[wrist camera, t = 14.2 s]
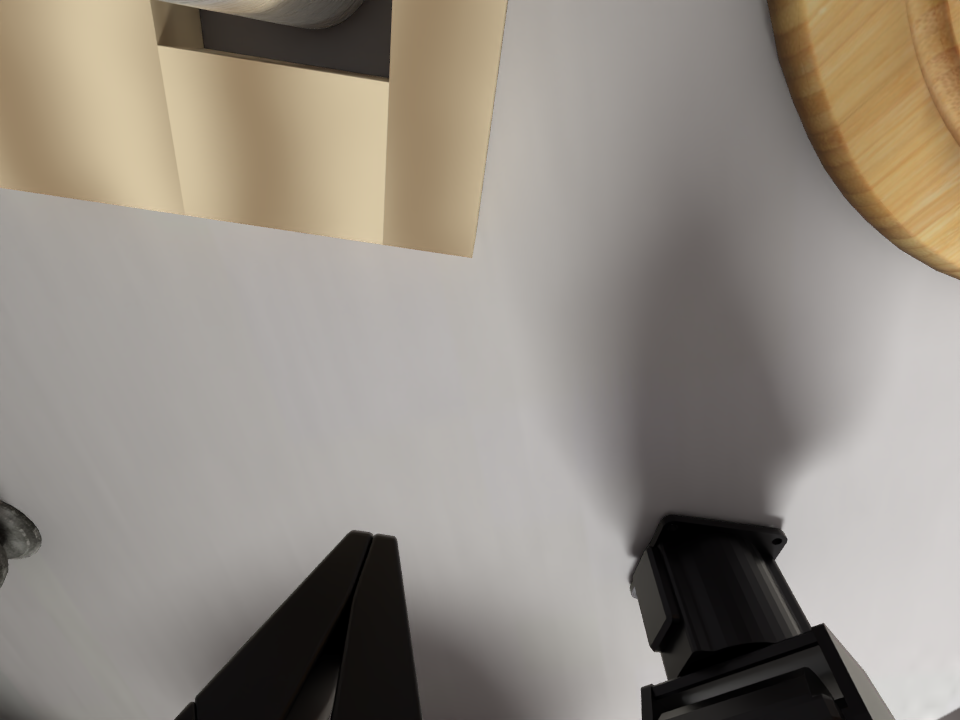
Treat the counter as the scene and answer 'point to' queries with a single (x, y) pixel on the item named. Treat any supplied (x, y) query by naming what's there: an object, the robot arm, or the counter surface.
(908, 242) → the wooden plate with food
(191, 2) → the grey cylindrical piece
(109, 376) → the counter surface
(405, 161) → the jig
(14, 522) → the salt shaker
